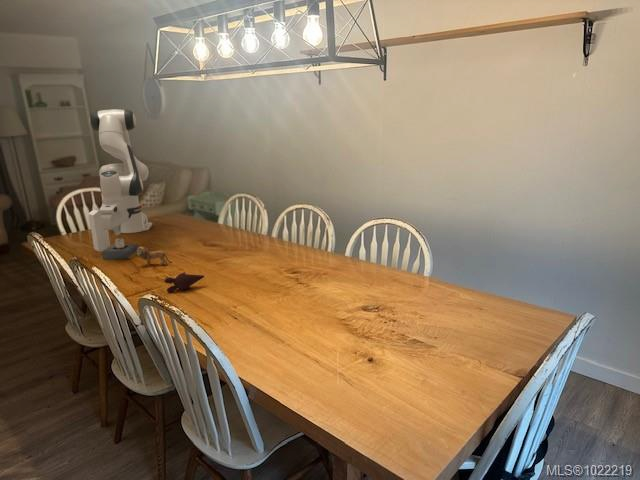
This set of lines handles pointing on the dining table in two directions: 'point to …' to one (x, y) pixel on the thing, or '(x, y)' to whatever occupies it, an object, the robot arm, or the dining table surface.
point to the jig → (120, 252)
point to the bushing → (119, 243)
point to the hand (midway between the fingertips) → (118, 234)
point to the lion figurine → (151, 255)
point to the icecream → (182, 281)
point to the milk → (98, 231)
